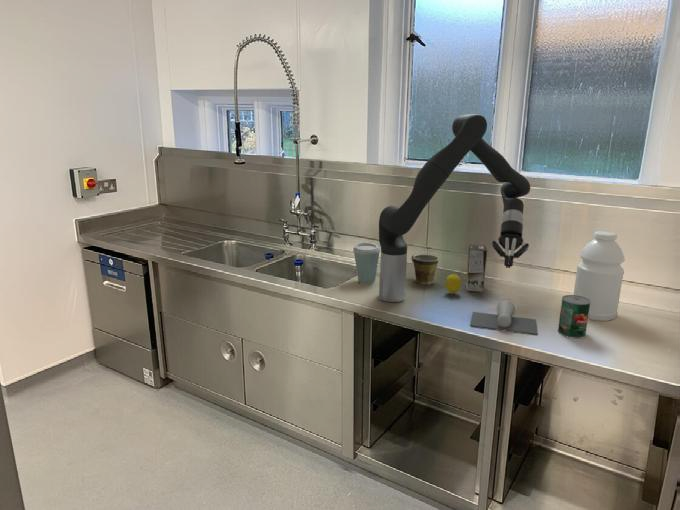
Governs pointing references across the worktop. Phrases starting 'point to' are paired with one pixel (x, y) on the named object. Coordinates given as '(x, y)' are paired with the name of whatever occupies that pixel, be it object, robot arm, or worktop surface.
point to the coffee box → (476, 267)
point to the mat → (491, 322)
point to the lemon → (453, 283)
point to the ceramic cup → (425, 268)
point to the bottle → (600, 275)
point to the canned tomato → (574, 316)
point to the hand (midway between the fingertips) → (508, 266)
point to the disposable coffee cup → (366, 261)
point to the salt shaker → (505, 313)
